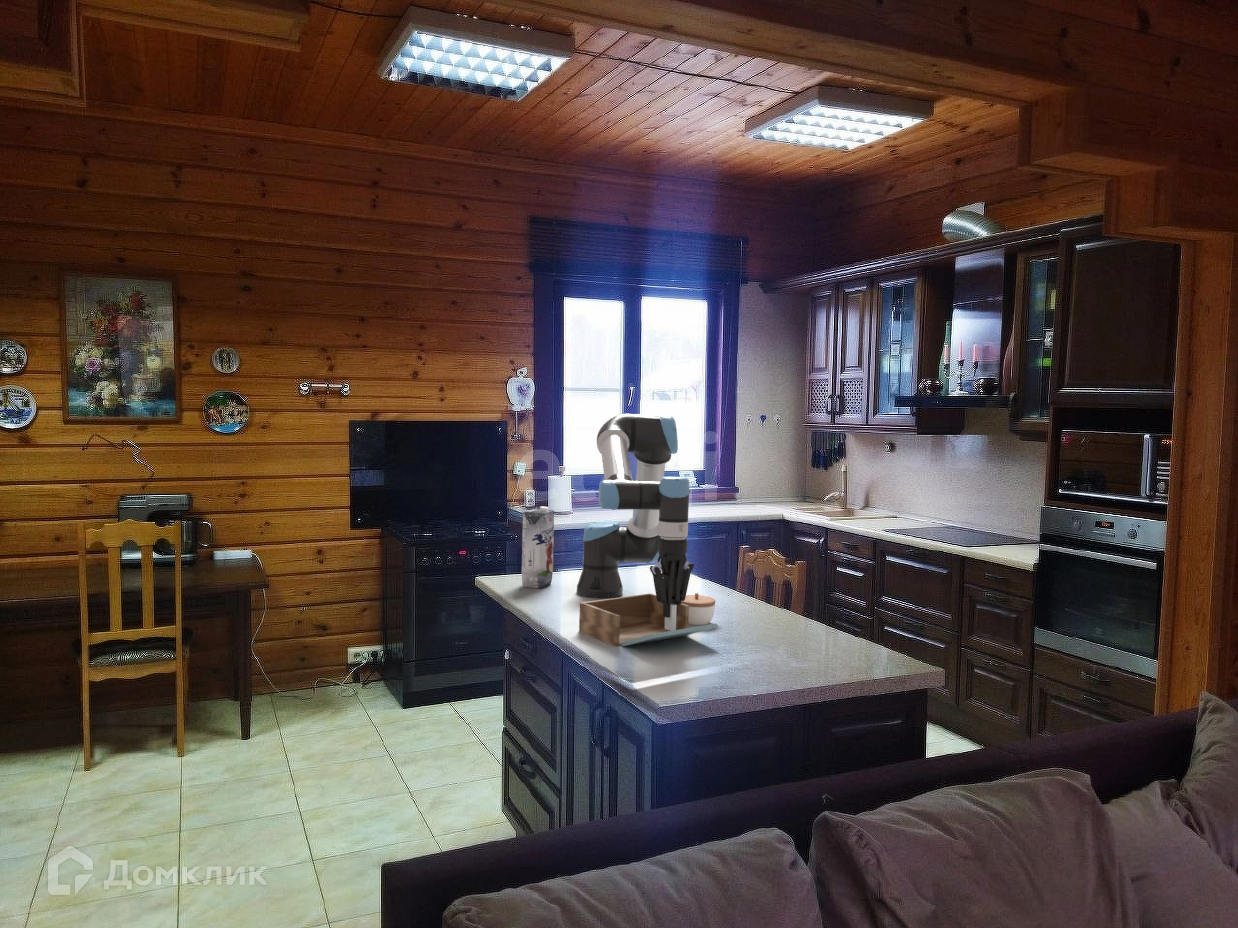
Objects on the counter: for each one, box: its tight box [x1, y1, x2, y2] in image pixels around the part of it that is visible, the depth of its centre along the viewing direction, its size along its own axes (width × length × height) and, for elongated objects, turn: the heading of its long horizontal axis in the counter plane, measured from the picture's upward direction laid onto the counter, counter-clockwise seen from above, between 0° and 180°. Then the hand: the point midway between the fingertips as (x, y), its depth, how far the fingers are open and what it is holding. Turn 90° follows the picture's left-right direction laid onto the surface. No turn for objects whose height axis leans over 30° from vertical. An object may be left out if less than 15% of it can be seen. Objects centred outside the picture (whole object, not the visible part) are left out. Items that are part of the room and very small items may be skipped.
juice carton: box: [521, 506, 555, 589], centre depth 303 cm, size 9×10×27 cm
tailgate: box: [619, 622, 718, 647], centre depth 230 cm, size 1×21×15 cm
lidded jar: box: [681, 592, 716, 626], centre depth 256 cm, size 11×11×9 cm
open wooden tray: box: [578, 593, 689, 647], centre depth 242 cm, size 17×24×9 cm
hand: (670, 629), depth 229 cm, fingers closed
